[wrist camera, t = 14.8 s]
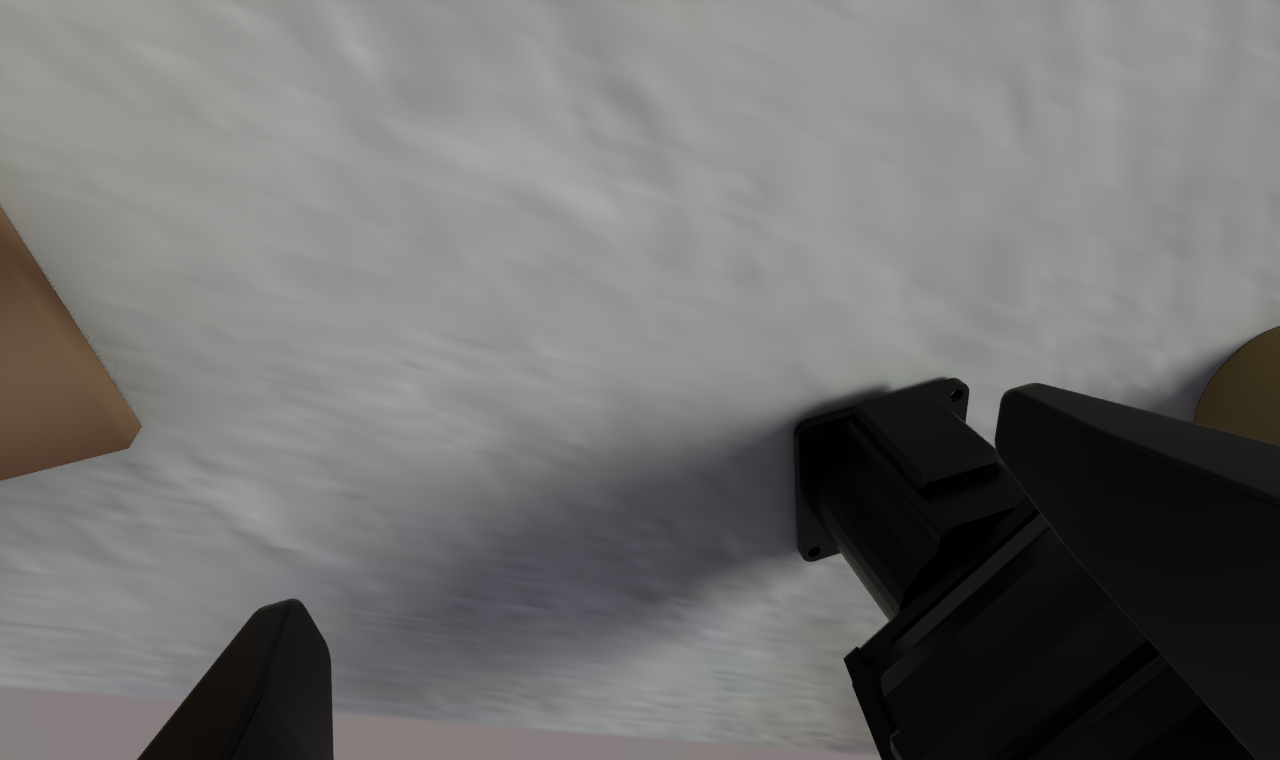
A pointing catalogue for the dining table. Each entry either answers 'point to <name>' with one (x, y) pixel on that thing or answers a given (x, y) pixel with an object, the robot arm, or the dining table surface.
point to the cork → (1246, 392)
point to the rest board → (49, 375)
